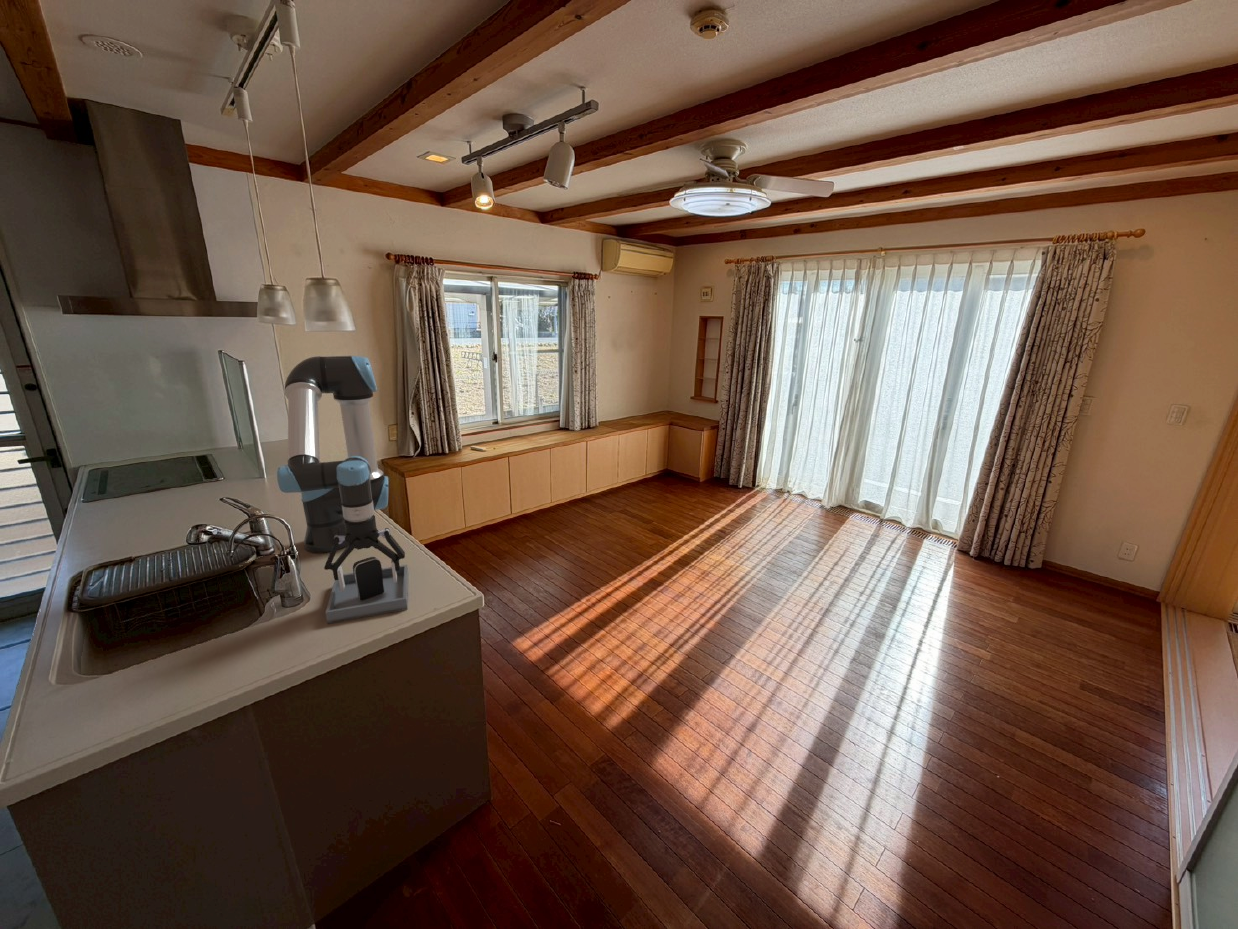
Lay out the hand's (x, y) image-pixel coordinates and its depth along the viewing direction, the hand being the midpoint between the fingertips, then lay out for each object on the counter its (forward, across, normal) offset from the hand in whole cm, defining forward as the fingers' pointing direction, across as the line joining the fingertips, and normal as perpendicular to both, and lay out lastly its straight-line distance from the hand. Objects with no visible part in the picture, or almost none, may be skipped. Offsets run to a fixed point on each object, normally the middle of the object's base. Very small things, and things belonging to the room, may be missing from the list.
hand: (369, 584), depth 139 cm
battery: (+4, 0, 0) cm, 4 cm away
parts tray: (+4, 0, 0) cm, 4 cm away
